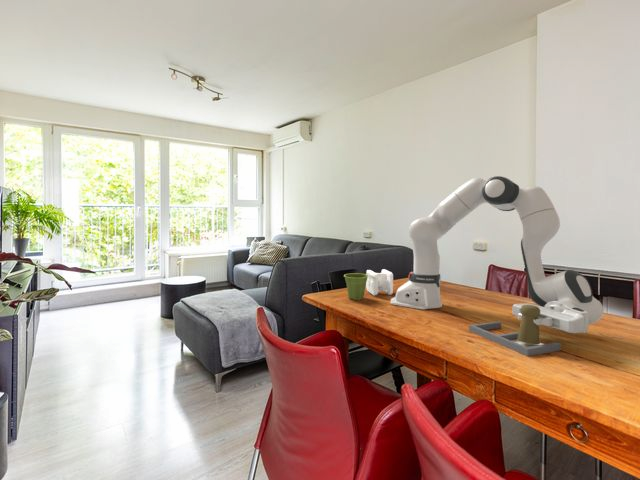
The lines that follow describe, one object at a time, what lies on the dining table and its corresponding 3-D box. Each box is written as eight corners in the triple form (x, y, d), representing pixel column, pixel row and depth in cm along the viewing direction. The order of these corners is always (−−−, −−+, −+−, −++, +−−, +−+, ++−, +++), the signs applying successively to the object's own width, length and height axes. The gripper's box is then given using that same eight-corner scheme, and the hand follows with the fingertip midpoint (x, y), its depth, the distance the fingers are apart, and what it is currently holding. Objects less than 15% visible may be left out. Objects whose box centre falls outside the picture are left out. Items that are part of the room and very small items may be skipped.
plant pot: (339, 297, 167) (339, 274, 166) (360, 294, 172) (360, 272, 171) (351, 302, 156) (351, 278, 156) (373, 299, 161) (373, 276, 161)
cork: (516, 336, 109) (518, 302, 108) (538, 339, 106) (540, 304, 106) (518, 342, 103) (520, 306, 103) (541, 345, 101) (544, 308, 100)
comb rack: (498, 326, 123) (498, 321, 123) (560, 350, 101) (560, 343, 101) (468, 330, 118) (469, 325, 118) (527, 356, 97) (527, 349, 97)
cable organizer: (393, 296, 168) (394, 273, 167) (373, 297, 167) (373, 273, 166) (384, 290, 183) (384, 268, 182) (364, 290, 181) (365, 269, 181)
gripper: (530, 297, 118) (499, 301, 114) (594, 313, 99) (560, 318, 94) (529, 315, 119) (498, 319, 114) (593, 334, 99) (559, 340, 95)
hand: (527, 319), depth 104 cm, fingers closed on cork, 4 cm apart
